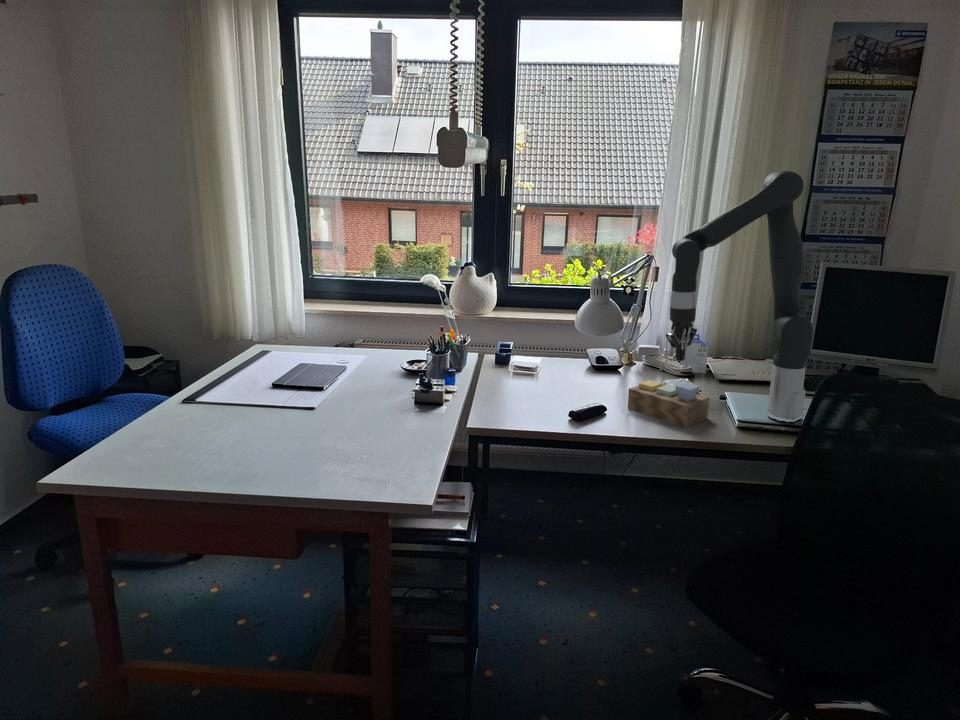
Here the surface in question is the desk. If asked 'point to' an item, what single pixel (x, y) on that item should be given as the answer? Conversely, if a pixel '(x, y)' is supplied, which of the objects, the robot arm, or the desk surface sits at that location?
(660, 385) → the button ochre
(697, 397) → the control box
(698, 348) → the ink cartridge box
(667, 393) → the button sage
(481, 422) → the desk surface
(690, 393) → the button slate
